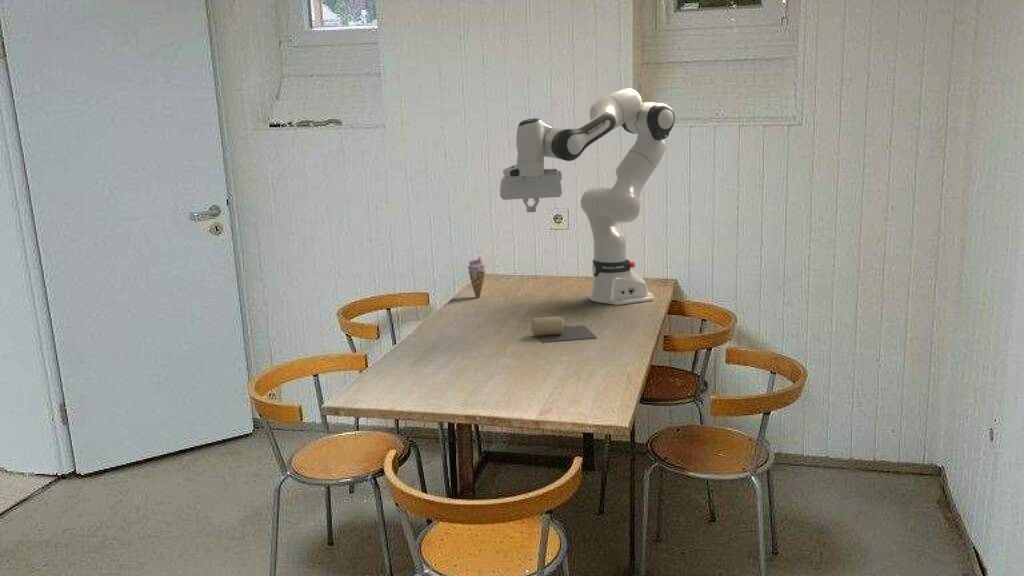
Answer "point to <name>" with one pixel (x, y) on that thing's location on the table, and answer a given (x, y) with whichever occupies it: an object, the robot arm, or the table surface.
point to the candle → (548, 326)
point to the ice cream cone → (477, 275)
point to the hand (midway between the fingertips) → (531, 211)
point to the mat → (569, 334)
